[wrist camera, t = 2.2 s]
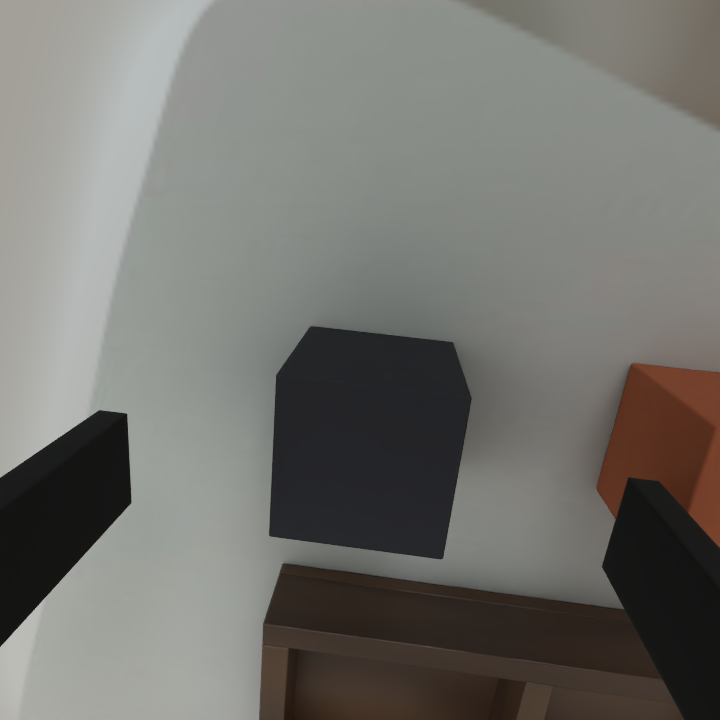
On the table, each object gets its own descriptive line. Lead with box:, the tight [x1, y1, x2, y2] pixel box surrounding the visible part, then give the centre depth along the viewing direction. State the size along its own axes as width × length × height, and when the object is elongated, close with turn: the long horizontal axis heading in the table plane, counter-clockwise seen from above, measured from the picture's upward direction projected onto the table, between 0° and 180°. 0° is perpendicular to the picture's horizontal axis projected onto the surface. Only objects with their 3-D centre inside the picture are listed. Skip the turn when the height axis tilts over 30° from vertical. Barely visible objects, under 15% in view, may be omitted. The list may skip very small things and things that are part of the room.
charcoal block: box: [269, 326, 472, 559], centre depth 16 cm, size 5×5×5 cm
